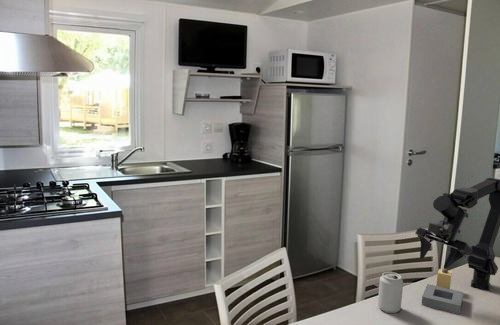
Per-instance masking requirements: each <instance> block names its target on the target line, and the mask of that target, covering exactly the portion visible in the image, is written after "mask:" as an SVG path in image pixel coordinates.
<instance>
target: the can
mask: <svg viewBox="0 0 500 325" xmlns="http://www.w3.org/2000/svg"><path fill="white" fill-rule="evenodd" d="M381 274H382V275H381V276H380V277H379V286H378V297H377V306H378V307H379V308H380V310H382V311H383V312H385V313H387V314H388V313H389V314H395V313H398V312H399V311H400V310H402V299H403V289H404V288H403V287H404V280H403V279H402V278H403V277H402V275H400V274H399V273H397V272H394V271H385V272H383V273H381Z"/></svg>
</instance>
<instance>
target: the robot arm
mask: <svg viewBox="0 0 500 325" xmlns="http://www.w3.org/2000/svg"><path fill="white" fill-rule="evenodd" d="M486 196H488V202H489V205H490V208H489V211H488V215H487V217H486V220H485V223H484V226H483V229H482V232H481V235H480V239H479V241H478V243H476V245H471V246H470V245H469V244H468V243H467V242H466V241H463V240H459V239H456V237H457V235H458V234H460V233H461V230H460V229H461V226H462V223H463V222H464V220H465V218H466V219H468V218H469V214H468V211H467V209H473V207H475V206H476V205H478V201H479V199H481V198H483V197H486ZM432 206H433V208H434V210H436V212H438V213H439V214H440V215H441V216H442V217H444V218H443V220H439V221H438V223H434V222H429V223H428V227H427V229H426V228H422V227H419V228H417V229H416V231H415V235H416V236H417V238H418V239H419V240H420V253H419V258H420V260H423V259H425V257H426V255H427V254H428V252H429V250H430V248H432V245H433V244H432V242H437V243H440V244H442V245H445V246H448V247H450V250H449V251H450V252H449V254H448V257H447V258H446V260H445V263H444V265H443V269H448V268H450V267H451V266H452V265H453V264H454V263H455V262H457V261H459V260H460V259H462V258H466V257H467V264H468V268H469V269H473V274H472V275H473V276H472V279H471V282H470V287H473V288H477V289H481V290H485V291H491V282H490V281H491V276H496V274H497V272H498V269H499V267H498V265H497V264H496V262H495V258H496V254H495V252H494V245H495V242H496V239H497V236H498V233H499V229H500V179H499V178H494V177H487V178H486V179H484V180H483V181H481V182H478V183H476V184H474V185H473V186H470V187H459V188H456V189H454V190H452V192H450V193H447V192H444V193H443V194H442V195H440V196H438V197H436V198H435V199H434V201H433V203H432ZM465 208H466V209H465Z"/></svg>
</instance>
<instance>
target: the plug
mask: <svg viewBox="0 0 500 325" xmlns="http://www.w3.org/2000/svg"><path fill="white" fill-rule="evenodd" d="M452 274H453V271H451V270H449V269H448V268H447V269H445V268H439V269H438V272H437V274H436V275H437V277H436V284H435V286H439V287H443V288H448V289H451V284H452V283H451V282H452Z"/></svg>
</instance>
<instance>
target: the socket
mask: <svg viewBox="0 0 500 325" xmlns="http://www.w3.org/2000/svg"><path fill="white" fill-rule="evenodd" d="M463 298H464V291H462V290H461V291H460V290H456V289H451V288H450V289H448V288H443V287H439V286H436V284H435V285H434V284H429V283H427V284H426V286H425V289H424V292H423V294H422V296H421V305H422V306H424V307H428V308H429V307H430V308H432V309H437V310H440V311H441V310H442V311H445V312H449V313H453V314H458V315H460V314H461V309H462V305H463V300H464V299H463Z"/></svg>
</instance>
